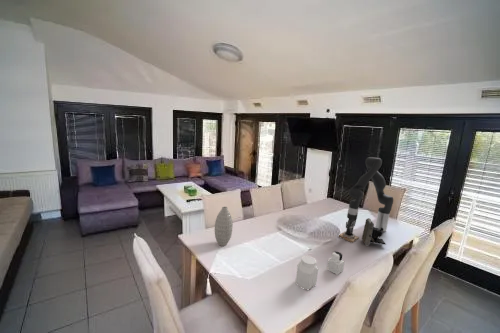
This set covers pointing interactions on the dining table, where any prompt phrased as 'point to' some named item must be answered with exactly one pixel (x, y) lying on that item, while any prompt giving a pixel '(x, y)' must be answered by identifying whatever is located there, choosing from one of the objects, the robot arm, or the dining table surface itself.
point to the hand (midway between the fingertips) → (349, 231)
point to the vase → (223, 227)
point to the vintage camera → (371, 233)
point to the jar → (307, 272)
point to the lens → (350, 230)
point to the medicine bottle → (336, 263)
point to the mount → (348, 237)
